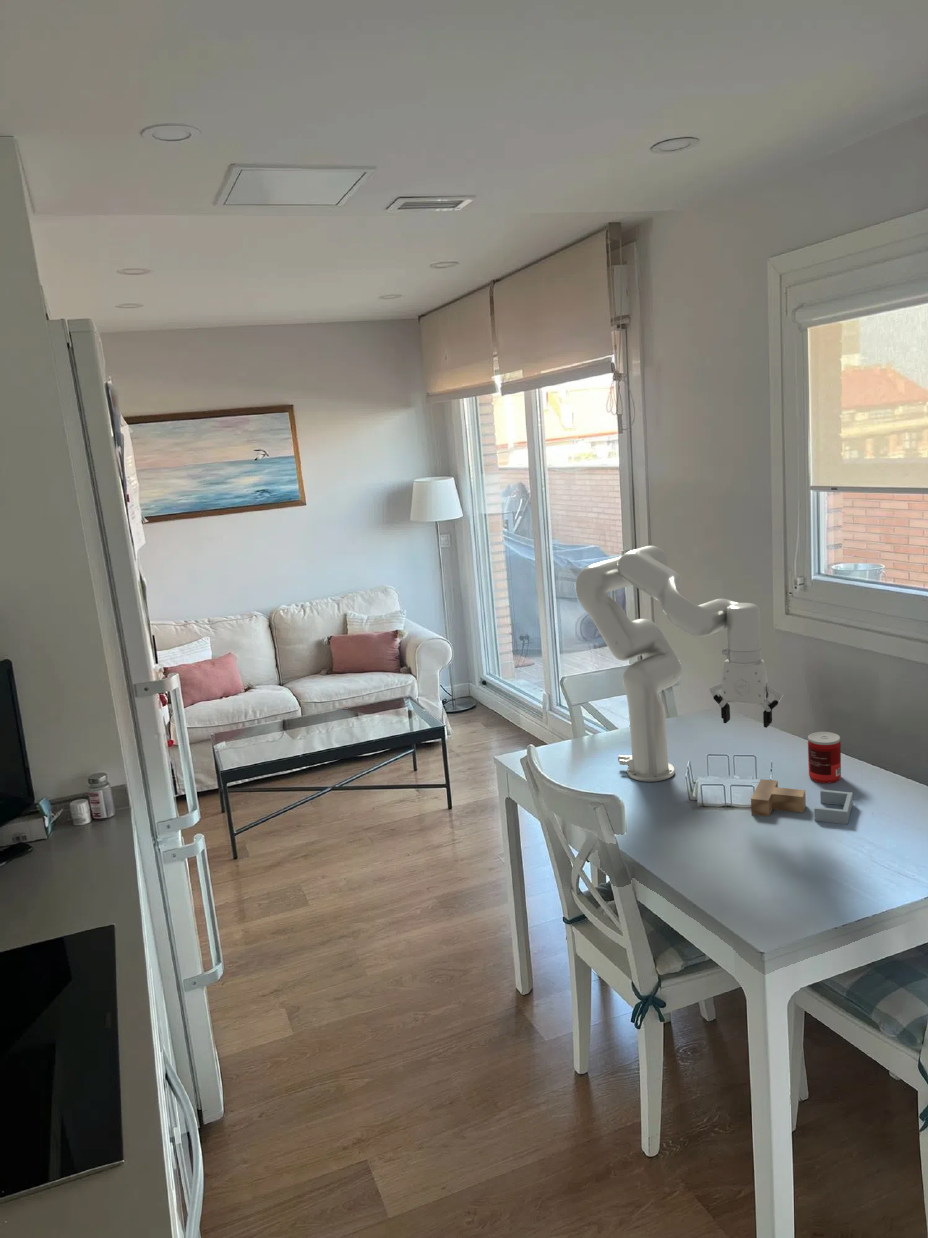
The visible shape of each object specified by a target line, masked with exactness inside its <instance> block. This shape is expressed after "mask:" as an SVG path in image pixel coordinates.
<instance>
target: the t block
mask: <svg viewBox="0 0 928 1238" xmlns="http://www.w3.org/2000/svg"><path fill="white" fill-rule="evenodd" d="M806 802H807V801H806V790H805V789H798V788H797V789H796V788H786V787H779V783H778V780H775V779H763V778H762V779H759V781H758V783H757V786H756V788H755V790H754V791H753V794H752V795H751V798H750V804H751V805H750V810H751V813H750V814H751V815H755V816H764V817H770V815H771V813H772V811H773V810H775V811H783V812H790V813H791V812H792V813H802V814H803V813H804V811H805V808H806V806H807V805H806V804H807V803H806Z"/></svg>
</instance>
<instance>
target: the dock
mask: <svg viewBox="0 0 928 1238" xmlns="http://www.w3.org/2000/svg"><path fill="white" fill-rule="evenodd" d="M819 793H820V795H819V796H820V797H819V798H820V804H826V805H828V804H829V805H836V806H838V805H839V806H843V808H842V809H839V808H831V807H821V806H814V807H813V811H814V812H813V813H814V822H824V823H832V824H833V823H834V824H840V825H841V824H842V825H848V824H849V821H850V817H851V813H852V809H853V805H854V803H853V801H854V800H853V798H854V797H853V796H854V795H853V793H854V792H852V791H851V792H849V791H839V790H829V789H820V792H819Z"/></svg>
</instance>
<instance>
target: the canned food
mask: <svg viewBox="0 0 928 1238" xmlns="http://www.w3.org/2000/svg"><path fill="white" fill-rule="evenodd" d="M841 745H842V744H841V736H840V735H839V734H837V733H834V732H830V731H815V732H813V733H810V734H808V736H807V757H808V758H807V759H808V762H807V763H808V776H809V779H810V780H812V781H814V782H816V783H820V784H833V783H837V782H838V781H839V780H840V779H841V777H842V762H841V761H842V760H841V759H842V758H841V757H842V756H841V754H842V753H841V752H842V751H841V750H842V749H841V747H842V746H841Z"/></svg>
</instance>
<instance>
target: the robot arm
mask: <svg viewBox="0 0 928 1238" xmlns="http://www.w3.org/2000/svg"><path fill="white" fill-rule="evenodd" d="M668 566H669V559H668V556H667V554H666V552H665V551H664V550H663V549H662V548H660V547H658V546H655V545H647V546H643V547H639V548H635V549H632V550H629V551H627V552H624V554H623V555H621V556H616V557H614V558H610V559H606V560H602V561H599V562H595V563H591V564H589V565H587V566H586V567H584V568H583V569H582V570H581V571H580V572H578V573H579V574H578V575H577V577H576V582H575V592H576V597H577V599H578V601H579V603H580V605H581V606H582V608H583V609H584V611H585V612H586V614H588V616H589V617H590V619H591V620H592V622H593V623H594V625H595V627H596V628H597V630H598V632H599V634H600V636H601V637H602V639H603V641H604V642H605V644H606V646H607V648H608V650H609V651H610V653H611V655H612V656H613V657H614V658H615V659H616V660H618V661H629V660H632V659H635V658H637V657H642V659H639V660H637V661H635V662H633V663H631V664H630V665H629V666H627V668H626V669H625V670H624V673H623V676H622V683H623V684H622V685H623V688H624V692H625V695H626V699H627V706H628V719H629V729H630V744H631V745H630V746H631V754H630V755H625V754H618V756H617V761H618V762H619V765H620V766H622V765H623V766H627V769H626V771H627V773H626V775H628V777H630V778H631V779H633V780H636V781H639V782H650V783H651V782H660V781H665V780H668V779H670V778H671V777H673V776H674V775H675V774H676V773H675V770H676V769H675V767H674V765H673V764H671V763H670V762H669V755H668V753H669V752H668V750H669V749H668V734H667V717H666V708H665V705H664V702H663V701H662V698H661V696H660V692H662V691H664V690H665V689H666V690H667V689H668V688H671V687H672V686H674V685H676V684H677V683H679V681H680V680H681V678H682V673H683V669H682V665H681V662H680V660H679V658H678V657H677V654H676V653H675V651H674V650H673V648H672V647H671V645H670V643H669V642H668V640H667V638H666V636H665V635H664V633H663V631H662V630H661V629H660V627H659V626H658V625H657V624H656V623H655V622H653V621H652V620H651V619H648V618H637V619H634V620H630V618H629V617H628V615H627V614H626V613H625V610H624V609H623V607H622V606H621V604H620V603H618V602H617V601H616V600H615V599H614V598H612V597H611V596H609V594H608V593H610V592H614V591H617V590H621V589H624V588H627V587H629V586H634V587H635V588H637V589H638V590H640V591H642V592H643V593H645V594H646V595H648V596H650V597H651V598H653V599H655V600H656V601H658V602H659V603H660V608H661V610H662V611H663V613H664V615H665V616H666V618H667V619H668V620H669V621H670V622H671V623H672V624H674V625H675V626H676V627H678V628H680V629H681V630H683V631H684V632H686V633H688V634H690V635H691V636H694V637H699V638H700V637H701V638H704V637H708V636H711V635H713V634H715V633H718V632H722V631H725V630H726V635H727V636H726V639H727V647H726V649H725V648H724V649H722V651H721V655H723V656H726V658H727V659H725V660H724V664H723V670H722V679H721V680H722V681H721V682H719V683H717V684H714V685H713V686H710V687H709V689H708V690H709V693H710V694H711V696H712V697H713V700H714V701H715V702H716V703H717V704H718V705H719V707H720V711H721V712H720V714H721V716H720V718H721V719H722V722H723V724H727V723H728V722H729V721H730V720H731V708H730V704H729V703H733V704H744V705H745V704H746V705H754V706H755V705H756V706H757V705H760V706H761V707H762V708H763V709H764V711H763V713H762V715H763V717H762V720H763V727H764V729H765V728H768V727H769V726H770V725H771V724H772V723H773V710H774V709H775V707H777V706H778V705H779V703H780V702H781V700H782V698H783V696H784V692H782V691H781V690H779V689H776V688H775V687H773V686H772V685H770V684H769V681H768V679H769V678H768V674H767V672H768V671H767V668H766V664H765V660H764V659H762V647H761V646H762V641H761V640H762V639H761V633H762V632H761V612H760V610H761V609H760V607H759V606H758V605H757V604H755V603H752V602H751V603H750V602H738V601H734V600H731V599H727V598H717V599H712V600H710V601H707V602H705V603H701V604H695V603H694V602H692V601H690V600H689V599H687V598H685V597H684V596H683V595H682V594H681V593H680V592H679V591H680V589H681V587H682V583H683V582H682V581H683V580H682V575H680V573H678V572H677V571H675V570H673V569H672V568H671V567H668ZM719 690H721V694H720V693H719V692H718V691H719ZM769 694H771V696H774V699H773V700H772V701H771V700H770V699H769Z"/></svg>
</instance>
